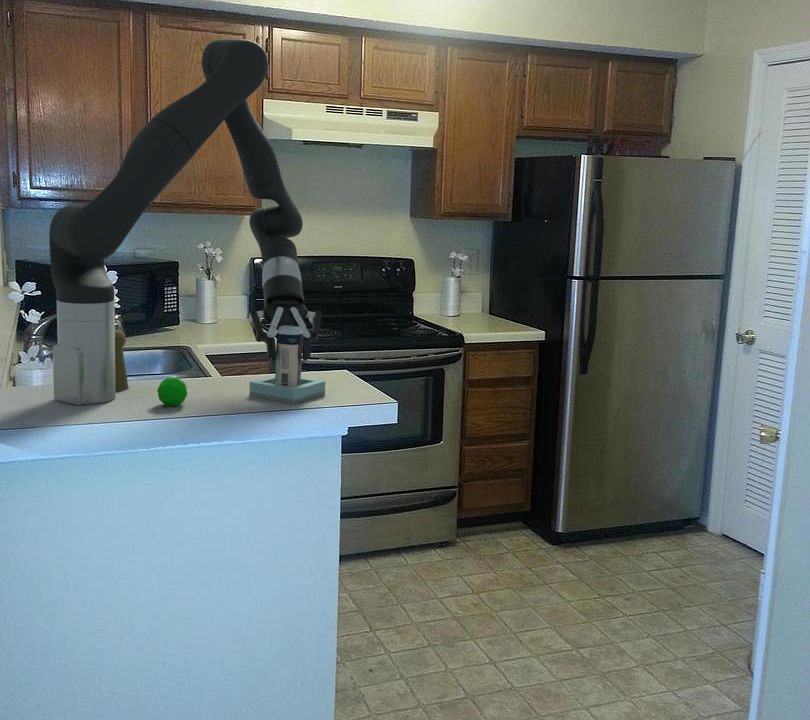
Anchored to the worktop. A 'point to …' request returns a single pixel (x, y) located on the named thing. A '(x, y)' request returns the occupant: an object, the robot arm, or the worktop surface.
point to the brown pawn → (120, 362)
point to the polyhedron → (172, 391)
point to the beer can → (288, 356)
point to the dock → (287, 390)
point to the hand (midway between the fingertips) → (290, 358)
